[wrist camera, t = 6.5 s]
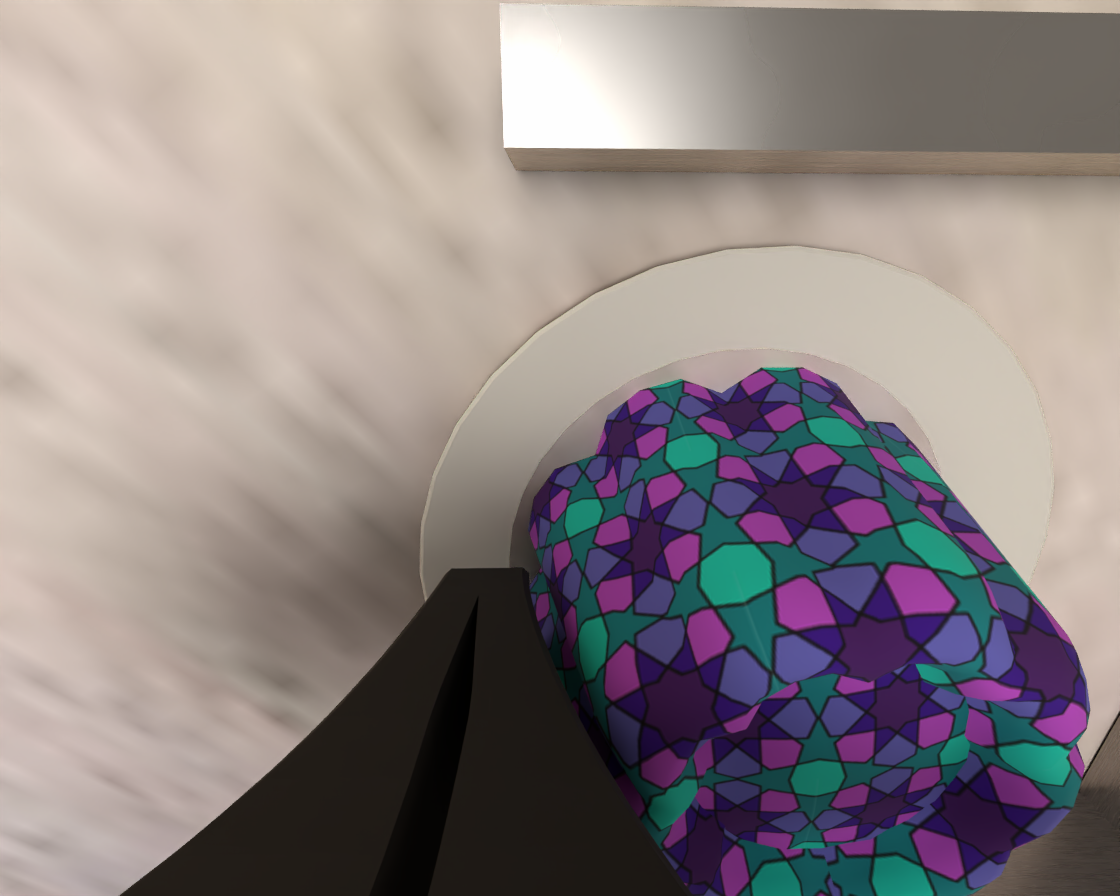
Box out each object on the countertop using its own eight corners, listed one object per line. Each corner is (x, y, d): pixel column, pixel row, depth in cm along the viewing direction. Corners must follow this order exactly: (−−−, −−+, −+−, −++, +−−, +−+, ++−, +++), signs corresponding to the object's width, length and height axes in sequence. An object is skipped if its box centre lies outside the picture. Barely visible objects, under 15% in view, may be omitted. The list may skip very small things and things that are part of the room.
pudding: (488, 782, 13) (457, 1095, 9) (352, 300, 9) (117, 390, 4) (967, 724, 13) (1214, 1018, 8) (1087, 191, 8) (1809, 145, 4)
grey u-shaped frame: (1104, 818, 14) (1213, 934, 12) (531, 832, 14) (528, 954, 11) (1556, 86, 8) (1988, 28, 5) (513, 72, 7) (499, 1, 5)
